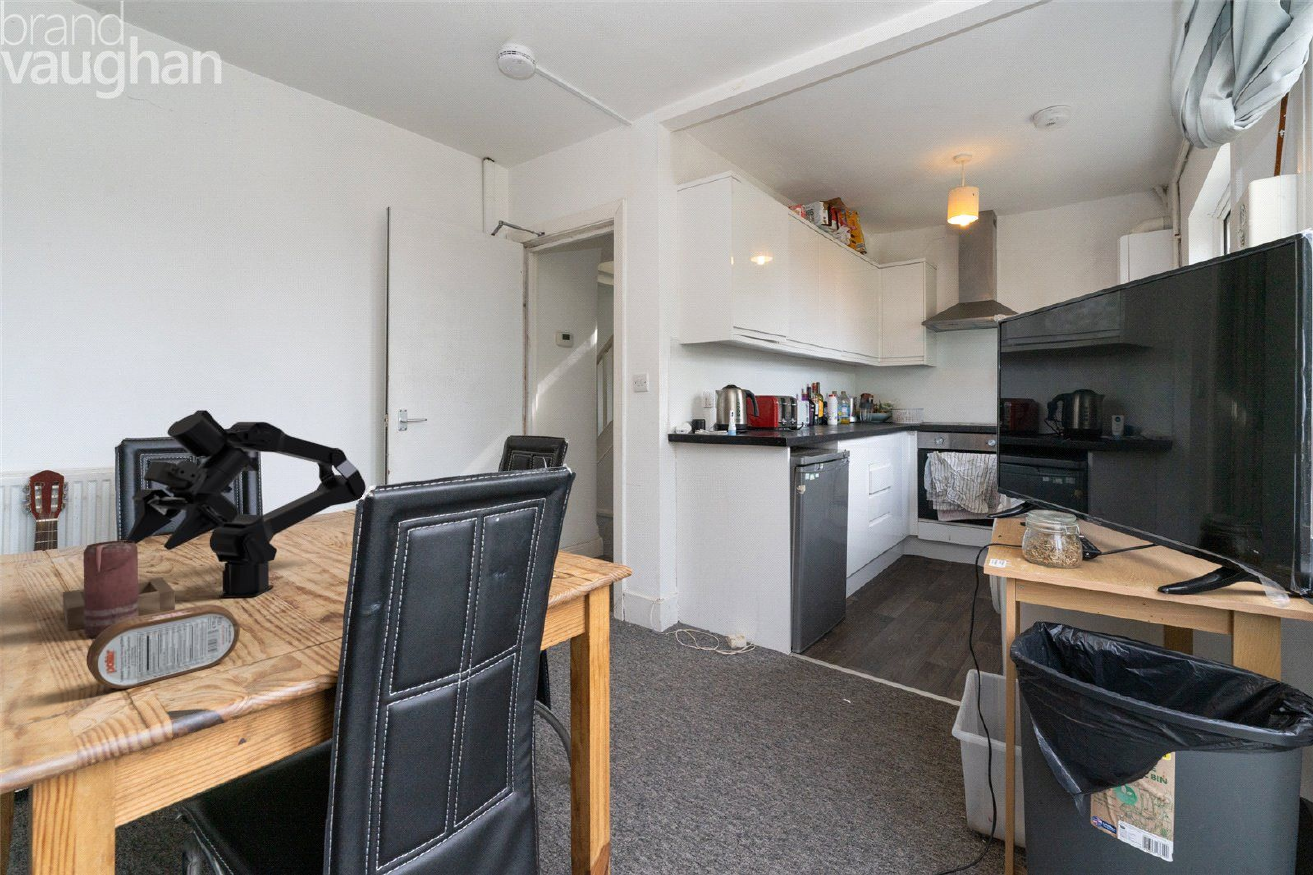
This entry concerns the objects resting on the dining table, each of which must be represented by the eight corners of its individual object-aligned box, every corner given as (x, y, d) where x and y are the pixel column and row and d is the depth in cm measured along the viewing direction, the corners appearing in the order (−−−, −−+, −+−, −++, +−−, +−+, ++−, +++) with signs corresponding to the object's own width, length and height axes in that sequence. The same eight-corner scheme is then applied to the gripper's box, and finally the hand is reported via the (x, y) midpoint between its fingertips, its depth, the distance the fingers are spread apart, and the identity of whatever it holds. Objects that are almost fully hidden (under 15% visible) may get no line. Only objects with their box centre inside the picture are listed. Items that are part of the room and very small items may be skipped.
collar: (162, 595, 107) (162, 577, 107) (174, 610, 99) (174, 591, 99) (63, 612, 98) (62, 592, 98) (67, 630, 89) (67, 608, 89)
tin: (236, 655, 80) (235, 596, 80) (242, 661, 78) (242, 601, 78) (86, 693, 69) (85, 625, 69) (89, 702, 67) (88, 631, 67)
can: (76, 642, 85) (75, 549, 84) (94, 628, 90) (93, 541, 90) (129, 635, 87) (128, 545, 87) (144, 622, 93) (142, 537, 93)
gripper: (144, 443, 101) (65, 514, 90) (220, 445, 95) (145, 521, 85) (192, 483, 108) (124, 552, 98) (265, 486, 103) (201, 561, 93)
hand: (147, 546), depth 93 cm, fingers open, 9 cm apart
